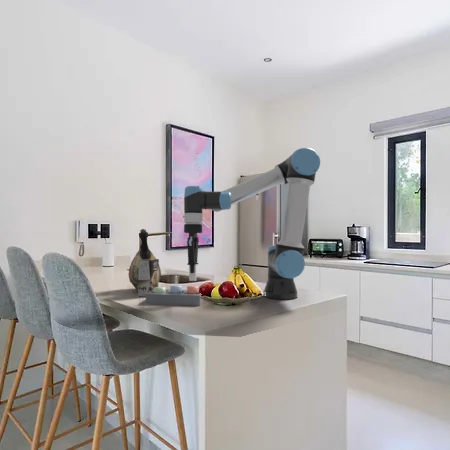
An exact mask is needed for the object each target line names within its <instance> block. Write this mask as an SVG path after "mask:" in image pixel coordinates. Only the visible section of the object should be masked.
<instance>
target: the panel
mask: <svg viewBox="0 0 450 450" xmlns="http://www.w3.org/2000/svg"><path fill="white" fill-rule="evenodd" d="M201 295H202V294H201V293H199V294H187V289H182V294H176V293H170V289H167V288H166V293H154V290H152V291H150V292H148V293H147V294H146V296H145V305H167V306H194V307H195V306H197V307H200V306H201V305H202V304H203V302H204V301H203V300H202V299H201V298H200V297H201Z"/></svg>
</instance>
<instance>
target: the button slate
mask: <svg viewBox="0 0 450 450" xmlns="http://www.w3.org/2000/svg"><path fill="white" fill-rule="evenodd" d="M182 290H183V286H182V285H181V284H173V285H170V293H176V294H182Z"/></svg>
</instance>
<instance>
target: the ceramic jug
mask: <svg viewBox="0 0 450 450" xmlns="http://www.w3.org/2000/svg"><path fill="white" fill-rule="evenodd" d="M138 236H139V239H140V247H139V248H138V250H137V252H136V254H135V255H134V256H133V258H132V260H131V263H130V265H129V268H128V278H129V279H128V280H129V282H130V283H131V285H132V286H133V287H134V289H135V291H136V292H138V277H139V260H144V259H157V258H156V257H155V254H154V253H153V252H152V251H151V249H150V248H149V244H148V237H149V232H147V230H146V228H145V229H144V228H142V229H140V232H138ZM161 277H162V271H161V267H160V265H159V274H158V284H159V283H160V281H161Z"/></svg>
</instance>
